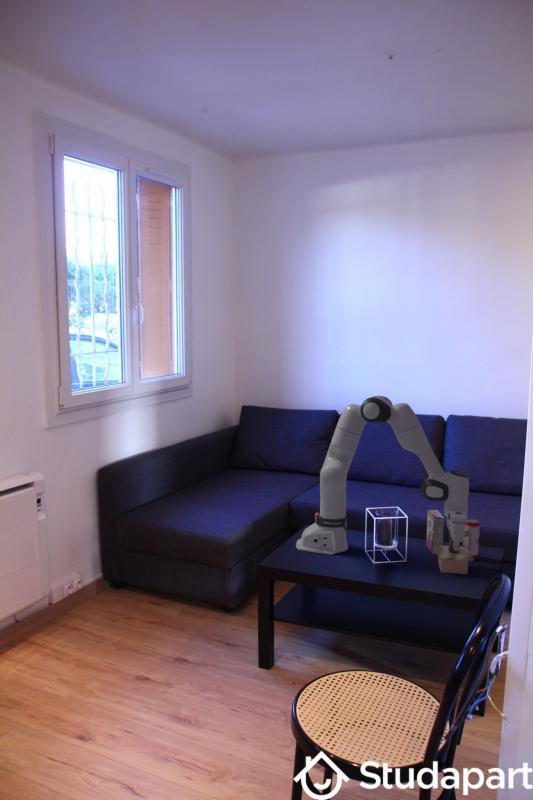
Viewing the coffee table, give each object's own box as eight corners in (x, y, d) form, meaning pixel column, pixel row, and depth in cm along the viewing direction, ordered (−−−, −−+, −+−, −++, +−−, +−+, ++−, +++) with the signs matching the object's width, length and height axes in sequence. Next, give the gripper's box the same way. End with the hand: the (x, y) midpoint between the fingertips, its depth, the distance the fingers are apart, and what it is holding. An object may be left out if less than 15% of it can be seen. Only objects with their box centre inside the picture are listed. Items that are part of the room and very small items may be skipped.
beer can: (475, 555, 267) (478, 518, 265) (479, 560, 261) (481, 523, 259) (460, 554, 268) (462, 518, 266) (463, 559, 262) (466, 522, 260)
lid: (438, 558, 246) (439, 546, 245) (434, 547, 259) (435, 535, 258) (472, 561, 244) (473, 548, 243) (467, 549, 257) (468, 537, 256)
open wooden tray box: (441, 572, 248) (442, 557, 247) (438, 562, 258) (438, 548, 257) (467, 574, 246) (468, 559, 246) (463, 564, 256) (464, 550, 255)
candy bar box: (425, 545, 278) (427, 509, 276) (436, 545, 278) (438, 509, 276) (431, 554, 267) (433, 517, 265) (443, 555, 267) (445, 517, 265)
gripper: (444, 503, 260) (442, 536, 261) (451, 518, 240) (448, 553, 241) (460, 505, 259) (458, 537, 261) (468, 519, 239) (465, 555, 240)
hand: (453, 545), depth 251 cm, fingers open, 8 cm apart
